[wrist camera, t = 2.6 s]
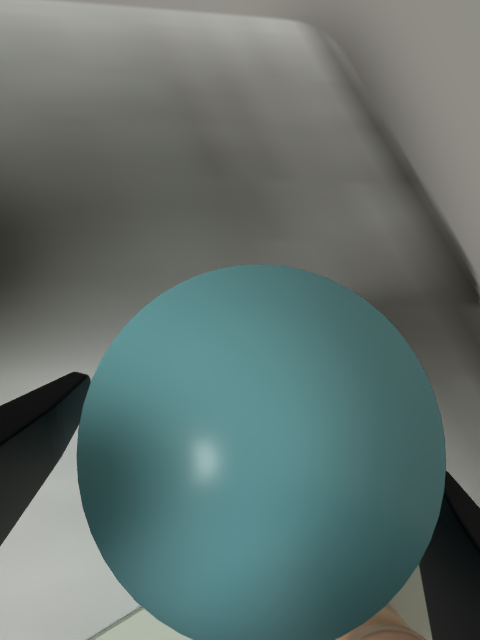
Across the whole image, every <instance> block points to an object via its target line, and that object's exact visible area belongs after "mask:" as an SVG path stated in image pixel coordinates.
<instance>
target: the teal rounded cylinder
mask: <svg viewBox="0 0 480 640" xmlns="http://www.w3.org/2000/svg"><path fill="white" fill-rule="evenodd" d="M77 471H78V484H79V489H80V495H81V500H82V505H83V509H84V513H85V516H86V519H87V522H88V525H89V528H90V531H91V534H92V536H93V538H94V540H95V542H96V544H97V546H98V549H99V551H100V553H101V555H102V557H103V559H104V560H105V562H106V563H107V565H108V566H109V568H110V569H111V571H112V572H113V574H114V575H115V577H116V578H117V580H118V581H119V583H120V584H121V585H122V586H123V587H124V588H125V589H126V590H127V592H128V593H129V594H130V595H131V596H132V597H133V598H134V600H135V601H136V602H137V603H138V604H140V605H141V606H142V607H143V608H144V609H146V610H147V611H148V612H149V613H150V614H151V615H153V616H154V617H155V618H156V619H157V620H159V621H160V622H162V623H164V624H165V625H167V626H168V627H170V628H172V629H173V630H175V631H176V632H178V633H180V634H181V635H184V636H186V637H188V638H191V639H193V640H335V639H338V638H340V637H342V636H344V635H345V634H347V633H349V632H350V631H352V630H354V629H356V628H357V627H359V626H361V625H363V624H364V623H365V622H367V621H368V620H369V619H370V618H372V617H373V616H374V615H375V614H376V613H378V612H379V611H380V610H381V609H383V608H384V607H385V606H386V605H387V604H388V603H389V602H390V601H391V600H392V598H393V597H394V596H395V595H396V594H397V593H398V592H399V591H400V590H401V589H402V588H403V586H404V585H405V584H406V582H407V581H408V579H409V578H410V576H411V575H412V573H413V572H414V570H415V569H416V568H417V566H418V565H419V563H420V561H421V559H422V557H423V555H424V553H425V551H426V549H427V547H428V545H429V543H430V541H431V538H432V535H433V532H434V529H435V526H436V523H437V520H438V517H439V513H440V508H441V503H442V498H443V494H444V486H445V472H446V454H445V438H444V432H443V426H442V421H441V415H440V411H439V408H438V405H437V401H436V398H435V395H434V392H433V389H432V387H431V385H430V382H429V380H428V378H427V375H426V373H425V371H424V369H423V367H422V365H421V363H420V362H419V360H418V358H417V357H416V355H415V353H414V352H413V350H412V348H411V347H410V346H409V344H408V343H407V342H406V340H405V339H404V338H403V336H402V335H401V334H400V332H399V331H398V330H397V329H396V328H395V327H394V326H393V325H392V323H391V322H390V321H389V320H388V319H387V318H386V317H385V316H384V315H383V314H382V313H381V312H379V311H378V310H377V309H376V308H375V307H373V306H372V305H371V304H370V303H369V302H367V301H366V300H365V299H363V298H362V297H360V296H359V295H357V294H356V293H354V292H353V291H351V290H349V289H348V288H346V287H344V286H342V285H340V284H338V283H336V282H334V281H332V280H330V279H328V278H325V277H323V276H320V275H317V274H314V273H311V272H308V271H305V270H300V269H295V268H291V267H286V266H276V265H265V264H261V265H240V266H234V267H227V268H221V269H218V270H214V271H210V272H207V273H203V274H200V275H198V276H196V277H193V278H191V279H188V280H186V281H184V282H181V283H179V284H178V285H176V286H174V287H173V288H171V289H169V290H167V291H166V292H164V293H162V294H161V295H159V296H158V297H157V298H155V299H154V300H153V301H151V302H150V303H149V304H147V305H146V306H145V307H144V308H143V309H142V310H141V311H139V312H138V313H137V314H136V315H135V316H134V317H133V318H132V319H131V320H130V321H129V322H128V323H127V324H126V326H125V327H124V328H123V329H122V331H121V332H120V333H119V334H118V335H117V337H116V338H115V339H114V340H113V342H112V344H111V345H110V347H109V348H108V350H107V352H106V353H105V355H104V356H103V358H102V360H101V361H100V364H99V366H98V368H97V370H96V372H95V374H94V376H93V378H92V381H91V383H90V386H89V389H88V392H87V395H86V398H85V401H84V404H83V409H82V414H81V419H80V424H79V429H78V443H77Z"/></svg>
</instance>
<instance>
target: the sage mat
mask: <svg viewBox="0 0 480 640" xmlns="http://www.w3.org/2000/svg"><path fill="white" fill-rule="evenodd" d="M389 603H390V604H391V606H392V607H393V608H394V609H395V610H396V612H397V613H398V614H399V615H400V616H401V618H402V619H403V620H404V621H405V623H406V624H407V625H408V626H409V627H410V629H412V630H414V631H415V632H417V633H419V634H420V635H421V636H423V637H424V638H425V639H426V640H432V635H431V629H430V624H429V618H428V613H427V607H426V602H425V596H424V591H423V585H422V580H421V574H420V569H419V565H418V566H417V568H416V569H415V570H414V572H413V573H412V575H411V576H410V578H409V579H408V581H407V582H406V584H405V585H404V586H403V588H402V589H401V590H400V591H399V592H398V593H397V594H396V595H395V596H394V597H393V598H392V600H391V601H390V602H389ZM89 640H193V639H191V638H188V637H186V636H184V635H181V634H180V633H178V632H176V631H175V630H173V629H172V628H170V627H168V626H167V625H165V624H164V623H162V622H160V621H159V620H157V619H156V618H155V617H154V616H153V615H151V614H150V613H149V612H148V611H147V610H146V609H144V608H143V607H141V608H139V609H137V610H136V611H134V612H132V613H131V614H129V615H128V616H126V617H124V618H123V619H121V620H120V621H118V622H116V623H115V624H113V625H111V626H110V627H108V628H107V629H105V630H103V631H102V632H100V633H99V634H97V635H95V636H94V637H92V638H90V639H89Z"/></svg>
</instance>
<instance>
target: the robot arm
mask: <svg viewBox="0 0 480 640" xmlns="http://www.w3.org/2000/svg"><path fill="white" fill-rule="evenodd" d="M90 383H91V381H90V377H89V376H88V375H86V374H82V373H79V372H72V373H70V374H67V375H65V376H63V377H61V378H59V379H57V380H55V381H53V382H50V383H48V384H46V385H44V386H42V387H40V388H38V389H35V390H33V391H31V392H29V393H27V394H25V395H23V396H20V397H18V398H16V399H14V400H12V401H10V402H8V403H5V404H3V405H1V406H0V546H1V544H2V543H3V542H4V540H5V539H6V537H7V536H8V534H9V533H10V531H11V530H12V528H13V527H14V525H15V524H16V523H17V521H18V520H19V518H20V517H21V515H22V514H23V512H24V511H25V509H26V508H27V507H28V505H29V504H30V502H31V501H32V499H33V498H34V496H35V495H36V493H37V492H38V490H39V489H40V488H41V486H42V485H43V483H44V482H45V480H46V479H47V477H48V476H49V474H50V473H51V471H52V470H53V469H54V467H55V466H56V464H57V463H58V461H59V460H60V458H61V456H62V455H63V453H64V451H65V449H66V448H67V446H68V444H69V442H70V440H71V438H72V436H73V435H74V433H75V431H76V429H77V427H78V425H79V423H80V419H81V414H82V409H83V404H84V401H85V398H86V395H87V392H88V389H89V386H90ZM419 569H420V574H421V580H422V585H423V591H424V596H425V602H426V607H427V613H428V618H429V624H430V629H431V635H432V640H480V508H479V507H478V506H477V505H476V503H475V502H474V501H473V500H472V499H471V498H470V497H469V495H468V494H467V493H466V492H465V491H464V490H463V489H462V487H461V486H460V485H459V484H458V483H457V482H456V481H455V479H454V478H453V477H452V476H451V475H450V474H449V473H448V472H447V471H446V472H445V486H444V494H443V498H442V503H441V508H440V513H439V517H438V520H437V523H436V526H435V529H434V532H433V535H432V538H431V541H430V543H429V545H428V547H427V549H426V551H425V553H424V555H423V557H422V559H421V561H420V563H419Z"/></svg>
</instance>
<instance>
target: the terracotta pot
mask: <svg viewBox="0 0 480 640" xmlns="http://www.w3.org/2000/svg"><path fill="white" fill-rule="evenodd" d="M335 640H426V639H425V638H424V637H423V636H421V635H420V634H419V633H417V632H415V631H414V630H412V629H410V627H409V626H408V625H407V624H406V623H405V621H404V620H403V619H402V618H401V616H400V615H399V614H398V613H397V612H396V610H395V609H394V608H393V607H392V606H391V604H390V603H388V604H387V605H386V606H385V607H384V608H383V609H381V610H380V611H379V612H378V613H376V614H375V615H374V616H373V617H372V618H370V619H369V620H368V621H367V622H365V623H364V624H363V625H361V626H359V627H357V628H356V629H354V630H352V631H350V632H349V633H347V634H345V635H344V636H342V637H340V638H338V639H335Z"/></svg>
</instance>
